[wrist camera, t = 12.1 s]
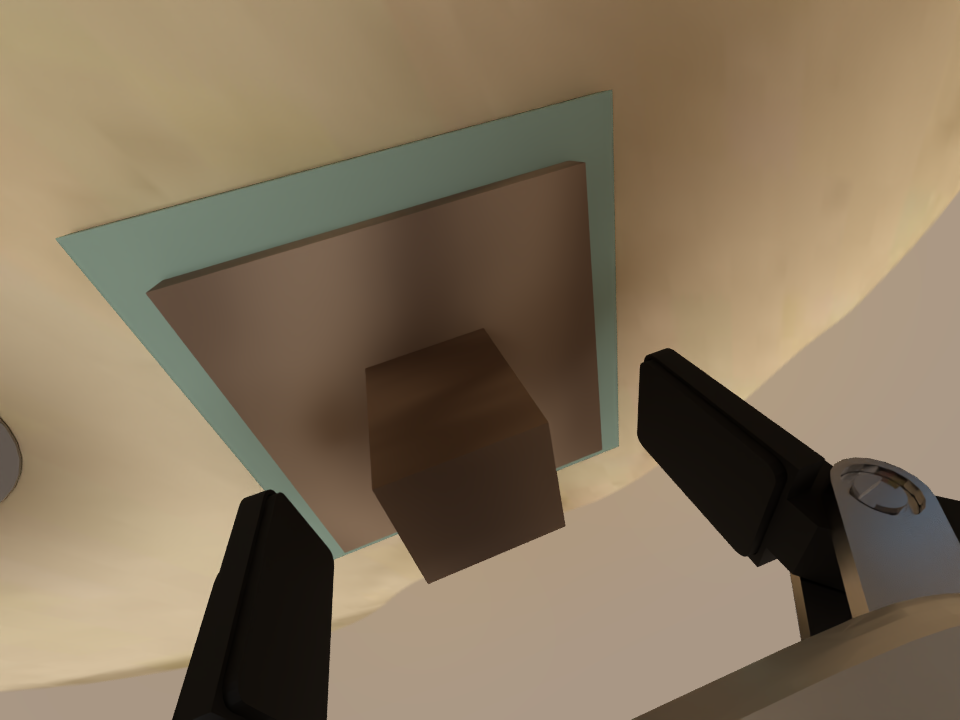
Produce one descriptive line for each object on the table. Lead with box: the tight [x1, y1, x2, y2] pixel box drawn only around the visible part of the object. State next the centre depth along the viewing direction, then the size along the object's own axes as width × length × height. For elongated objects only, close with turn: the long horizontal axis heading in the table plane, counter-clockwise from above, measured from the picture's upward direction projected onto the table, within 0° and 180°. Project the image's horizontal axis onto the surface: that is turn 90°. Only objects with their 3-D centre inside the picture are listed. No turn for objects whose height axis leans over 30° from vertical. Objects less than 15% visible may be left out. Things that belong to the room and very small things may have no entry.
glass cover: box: [146, 161, 602, 584], centre depth 12 cm, size 12×12×6 cm
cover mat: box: [56, 90, 619, 559], centre depth 14 cm, size 15×15×1 cm
